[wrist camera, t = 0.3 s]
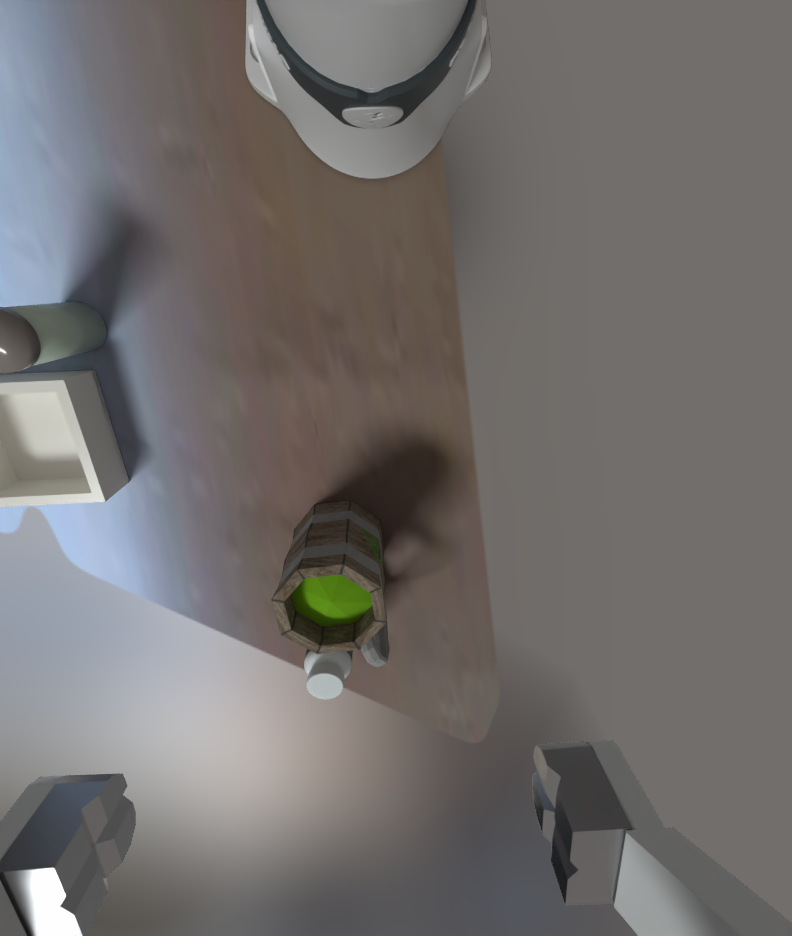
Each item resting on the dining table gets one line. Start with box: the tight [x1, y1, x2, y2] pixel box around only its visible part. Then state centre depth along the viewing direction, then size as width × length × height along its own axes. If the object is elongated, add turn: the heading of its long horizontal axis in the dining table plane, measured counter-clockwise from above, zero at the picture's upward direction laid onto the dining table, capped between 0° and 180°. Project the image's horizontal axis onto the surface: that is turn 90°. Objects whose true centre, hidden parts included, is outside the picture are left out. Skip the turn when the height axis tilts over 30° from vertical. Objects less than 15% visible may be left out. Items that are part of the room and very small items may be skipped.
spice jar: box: [0, 302, 107, 373], centre depth 36 cm, size 5×5×10 cm
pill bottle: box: [304, 649, 353, 699], centre depth 52 cm, size 5×5×10 cm
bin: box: [0, 370, 129, 507], centre depth 43 cm, size 12×12×5 cm
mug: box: [272, 501, 389, 667], centre depth 47 cm, size 16×11×12 cm
